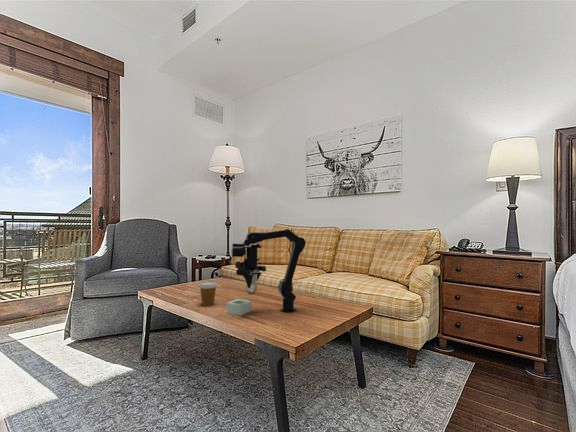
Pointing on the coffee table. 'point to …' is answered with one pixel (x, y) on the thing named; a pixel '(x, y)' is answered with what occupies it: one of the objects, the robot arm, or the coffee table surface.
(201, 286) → the disposable coffee cup
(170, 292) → the coffee table surface
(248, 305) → the green square frame
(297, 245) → the robot arm
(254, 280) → the beige rectangular block
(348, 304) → the coffee table surface
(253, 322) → the coffee table surface
